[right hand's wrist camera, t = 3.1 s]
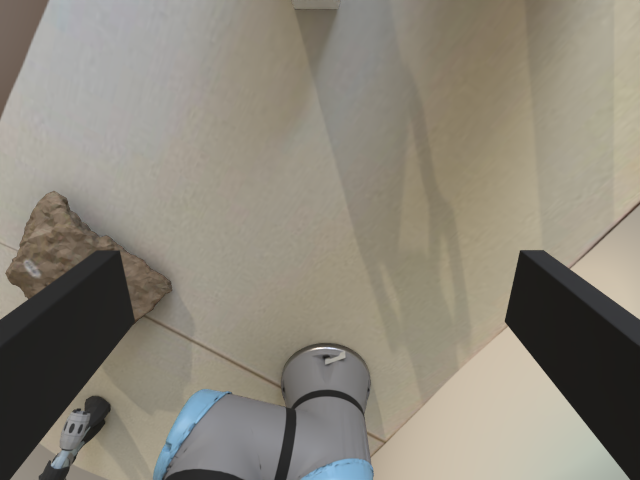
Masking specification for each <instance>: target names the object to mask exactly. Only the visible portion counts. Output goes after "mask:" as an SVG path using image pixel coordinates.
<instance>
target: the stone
mask: <svg viewBox="0 0 640 480" xmlns="http://www.w3.org/2000/svg"><path fill="white" fill-rule="evenodd" d="M96 250H120V253H121V258H122V263H123V267H124V272H125V276H126V281H127V286H128V290H129V295H130V300H131V304H132V309H133V313H134V318H135V323H136V322H137V321H138V320H139V319H140V318H142V317H143V316H144V315H145V314H147V313H148V312H150V311H151V310H153V309H154V306H155V305H156V304H157V303H158V302H159V301H160V299H161V298H162V297H163V296H164V295H165V294H166V293H170V292H171V291H172V286H171V282H170V281H169V280H168V279H166V278H165V277H164V276H163V275H161V274H160V273H158V272H156V271H154V270H152V269H151V268H150V267H149V266H148V265H147V264H146V263H145V261H144V260H142V259H140V258H137V257H136V256H135V255H131V254H130V253H128V252H126V251H125V249H124V248H123V247H122V246H120V245H118V244H117V243H115V242H114V241H113V240H112V239H111V238H110V237H108V236H103V237H99V236H98V235H97V234H96V233H94V232H92V231H91V230H90V229H89V227H88V226H87V224H85V223H84V222H81V219H80V218H79V217H78V215H77V214H76V213H74V212H72V211H70V208H69V205H68V201H67V198H65V197H63V196H61V195H60V194H58V193H57V192H55V191H53V192H50V193H48V194H46V195H45V196H44V197H43V198H42V199H41V200H40V201H39V202H38V204H37V205H36V207H35V208H34V210H33V211H32V213H31V216H30V219H29V221H28V222H27V223H26V227H25V231H24V235H23V237H22V241H21V242H20V249H19V251H18V253H17V257H15V258H13V259H12V263H11V264H10V266H9V268H8V269H7V271H6V273H5V274H6V276H7V278H8V280H9V281H10V282H11V284H13V285H16V286H18V287H20V288H21V290H22V291H23V292H24V294H25V297H27V298H28V299H30V298H31V297H33V296H34V295H35V294H37V293H38V292H39V291H41V290H42V289H44V288H45V287H46V286H48V285H49V284H51V283H52V282H53V281H55V280H56V279H57V278H59V277H60V276H62V275H63V274H64V273H66V272H67V271H69V270H70V269H71V268H73V267H74V266H75V265H77V264H78V263H80V262H81V261H82V260H84V259H85V258H87V257H88V256H89V255H91V254H92V253H93V252H95V251H96ZM135 323H134V324H135Z"/></svg>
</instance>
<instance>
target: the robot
mask: <svg viewBox="0 0 640 480" xmlns="http://www.w3.org/2000/svg"><path fill="white" fill-rule="evenodd" d="M109 412H110V404H109V403H108V402H106V401H105V400H104V399H103V398H101V397H96V396H92V397H90V398H88V399H86V402H85V411H81V409H76V410H73V411H72V413H71V414H70V415H69V417H68V419H67V420H66V423H65V425H64V428H63V430H62V433H61V438H60V448H61V449H62V451H61V452H60V453H58V454H57V455H56V457H55V458H54V459H53V462H52V464H51V461H49V462H48V464H47V466H46V467H45V469H44V472H43V473H42V474H41V475H40V476H39V480H66V476H67V474H68V472H69V468H70V466H71V464H72V463H73V462H74V461H75V459H76V456H77V454H78V452H79V450H80V449H81V448H82V447H83V445H85V444H86V443H87V442H89V441H90V440H91V439H92V438H93V437H94V436H95V435H96V434H97V433H98V432H99V431H100V430H101V428H102V427H103V425H104V424H105V422H104V420H103V419H104V418H105V417H106V415H107V414H108V413H109ZM50 464H51V465H50Z"/></svg>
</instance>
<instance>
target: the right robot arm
mask: <svg viewBox="0 0 640 480" xmlns="http://www.w3.org/2000/svg"><path fill="white" fill-rule="evenodd" d="M134 323H135V318H134V313H133V309H132V304H131V300H130V295H129V290H128V286H127V281H126V276H125V272H124V267H123V263H122V258H121V253H120V250H96V251H95V252H93V253H92V254H91V255H89V256H88V257H87V258H85V259H84V260H82V261H81V262H80V263H78V264H77V265H75V266H74V267H73V268H71V269H70V270H69V271H67V272H66V273H64V274H63V275H62V276H60V277H59V278H57V279H56V280H55V281H53V282H52V283H51V284H49V285H48V286H46V287H45V288H44V289H42V290H41V291H39V292H38V293H37V294H35V295H34V296H33V297H31V298H30V299H28V300H27V301H26V302H24V303H23V304H21V305H20V306H19V307H17V308H16V309H15V310H13V311H12V312H10V313H9V314H8V315H6V316H5V317H4V318H2V319H1V320H0V480H10V479H11V477H12V476H13V475H14V474H15V472H16V471H17V470H18V469H19V467H20V466H21V465H22V464H23V462H24V461H25V460H26V459H27V457H28V456H29V455H30V454H31V452H32V451H33V450H34V448H35V447H36V446H37V445H38V443H39V442H40V441H41V440H42V438H43V437H44V436H45V435H46V433H47V432H48V431H49V430H50V428H51V427H52V426H53V425H54V423H55V422H56V421H57V419H58V418H59V417H60V416H61V414H62V413H63V412H64V411H65V409H66V408H67V407H68V406H69V404H70V403H71V402H72V401H73V399H74V398H75V397H76V396H77V394H78V393H79V392H80V391H81V389H82V388H83V387H84V385H85V384H86V383H87V382H88V380H89V379H90V378H91V377H92V375H93V374H94V373H95V372H96V370H97V369H98V368H99V367H100V365H101V364H102V363H103V362H104V360H105V359H106V358H107V357H108V355H109V354H110V353H111V351H112V350H113V349H114V348H115V346H116V345H117V344H118V343H119V341H120V340H121V339H122V338H123V336H124V335H125V334H126V333H127V331H128V330H129V329H130V328H131V326H132V325H133V324H134ZM505 323H506V324H507V325H508V326H509V328H510V329H511V330H512V331H513V333H514V334H515V335H516V336H517V338H518V339H519V340H520V341H521V343H522V344H523V345H524V346H525V348H526V349H527V350H528V351H529V353H530V354H531V355H532V356H533V358H534V359H535V360H536V362H537V363H538V364H539V365H540V367H541V368H542V369H543V370H544V372H545V373H546V374H547V375H548V377H549V378H550V379H551V380H552V382H553V383H554V384H555V385H556V387H557V388H558V389H559V391H560V392H561V393H562V394H563V396H564V397H565V398H566V399H567V400H568V402H569V403H570V404H571V406H572V407H573V408H574V409H575V411H576V412H577V413H578V414H579V416H580V417H581V418H582V419H583V421H584V422H585V423H586V424H587V426H588V427H589V428H590V430H591V431H592V432H593V433H594V435H595V436H596V437H597V438H598V440H599V441H600V442H601V443H602V445H603V446H604V447H605V448H606V450H607V451H608V452H609V454H610V455H611V456H612V457H613V459H614V460H615V461H616V462H617V464H618V465H619V466H620V467H621V469H622V470H623V471H624V472H625V474H626V475H627V476H628V477H629V479H630V480H640V320H639V319H638V318H636V317H635V316H634V315H632V314H631V313H630V312H628V311H627V310H625V309H624V308H623V307H621V306H620V305H618V304H617V303H616V302H614V301H613V300H612V299H610V298H609V297H607V296H606V295H605V294H603V293H602V292H601V291H599V290H598V289H596V288H595V287H594V286H592V285H591V284H589V283H588V282H587V281H585V280H584V279H582V278H581V277H580V276H578V275H577V274H576V273H574V272H573V271H571V270H570V269H569V268H567V267H566V266H565V265H563V264H562V263H560V262H559V261H558V260H556V259H555V258H553V257H552V256H551V255H549V254H548V253H547V252H545V251H544V250H520V253H519V258H518V263H517V267H516V272H515V276H514V281H513V286H512V290H511V295H510V300H509V304H508V309H507V313H506V318H505ZM370 386H371V382H370V375H369V370H368V367H367V365H366V363H365V362H364V360H363V359H362V358H361V357H360V356H359V355H358V354H357V353H356V352H354V351H353V350H351V349H349V348H347V347H344V346H341V345H337V344H331V343H321V344H315V345H311V346H308V347H305V348H303V349H301V350H299V351H298V352H296V353H295V354H294V355H292V356H291V357H290V359H289V360H288V361H287V363H286V364H285V366H284V369H283V372H282V379H281V389H282V394H283V398H284V400H285V404H286V407H284V406H279V405H275V404H271V403H267V402H263V401H258V400H254V399H250V398H246V397H242V396H237V395H233V394H232V392H228V391H227V392H220V391H215V390H209V389H202V390H200V391H198V392H196V393H195V394H193V395H192V396H191V397H190V398H189V400H188V401H187V402H186V404H185V405H184V407H183V408H182V410H181V412H180V413H179V415H178V417H177V419H176V421H175V423H174V424H173V426H172V428H171V430H170V432H169V435H168V437H167V439H166V444H165V445H164V447H163V449H162V451H161V453H160V455H159V458H158V460H157V463H156V466H155V469H154V474H153V480H373V476H374V473H373V467H372V466H371V459H370V452H369V445H368V438H367V431H366V424H365V418H364V412H365V409H366V404H367V399H368V397H369V393H370Z"/></svg>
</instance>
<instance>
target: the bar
mask: <svg viewBox="0 0 640 480" xmlns="http://www.w3.org/2000/svg"><path fill="white" fill-rule="evenodd" d="M340 1H341V0H292V3H293V7H294V9H339V5H340Z"/></svg>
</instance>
